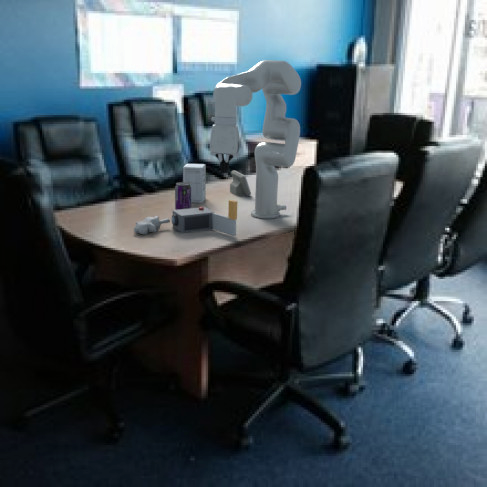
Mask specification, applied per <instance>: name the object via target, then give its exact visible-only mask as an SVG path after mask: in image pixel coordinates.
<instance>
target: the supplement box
mask: <svg viewBox="0 0 487 487" xmlns="http://www.w3.org/2000/svg"><path fill="white" fill-rule="evenodd" d="M206 171H207V170H206V163H205V164H204V163H186V164H185V165H184V166H183V167H182V182H187V183H190V186H191V203H195V204H198V203H199V204H200V203H201V204H203V203H204V201H205V200H206V197H207V196H206V192H207V191H206V187H207V186H206V185H207V182H206V179H207V177H206Z"/></svg>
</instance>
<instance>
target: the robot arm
mask: <svg viewBox="0 0 487 487" xmlns="http://www.w3.org/2000/svg"><path fill="white" fill-rule="evenodd" d="M301 87H302V80H301V77H300V75H299V73H298V72H297V70H295V68H294V67H293V65H291V64H290V63H289V62H288V61H285V60H277V59H276V60H275V59H274V60H272V59H270V60H269V59H266V60H261V61H259V62H258V63H256V64H254V66H253V67H251V68H250V69H249V70H247V71H244V72H241V73H237V74H235V75H231V76H227V77H226V78H223V79H222V80H221V81H220V82H218V83H217V84H216V86H215V87H214V89H213V94H212V95H213V100H214V116H213V117H211V118H210V120H211V122H213V123H214V124H212V127H211V131H210V138H209V139H210V140H209V151H210V153H209V154H210V156H212V157H216V159H217V160H218V161H219V170H220V173H221V174H227V173H228V172H229V170H230V161H231V160H233V159H234V158H238V157H240V132H239V126H238V125H237V107H246V106H248V105H249V104H250V103H251V102H252V100H253V93H258V92H259V91H261V90H262V94H263V96H264V98H265V102H266V104H265V105H266V107H265V113H264V119H263V124H262V136H263V137H264V138H265V139H267V140H272V141H283V142H284V143H281V142H280V143H278V142H270V141H262V142H259V143H258V144H257V145H256V146H255V149H254V160H255V167H256V168H255V171H256V173H255V176H256V177H255V196H254V198H255V200H254V209H253V210H252V211H251V213H250V215H251V216H252V217H254V218H259V219H268V220H269V219H277V218H279V217H280V216H281V212H280V211H286V210H287V205H286V204H285V205H281V204H278V187H279V174H278V171H277V168H276V167H281V168H290V167H292V166H294V164H295V162H296V157H297V153H298V147H299V141H300V135H301V125H300V123H299V121H298V120H297V119H296V118H291V117H286V113H287V103H286V101H285V99H284V98H283V96H282V95H289V96H292V95H293V96H294V95H296V94H298V93H299V92H300V90H301Z"/></svg>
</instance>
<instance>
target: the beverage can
mask: <svg viewBox="0 0 487 487" xmlns="http://www.w3.org/2000/svg"><path fill="white" fill-rule="evenodd" d="M174 205H175V206H174V210H180V209H190V208H192V202H191V186H190V183H187V182H183V181H182V182H181V181H180V182H176V183H175V186H174Z"/></svg>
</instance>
